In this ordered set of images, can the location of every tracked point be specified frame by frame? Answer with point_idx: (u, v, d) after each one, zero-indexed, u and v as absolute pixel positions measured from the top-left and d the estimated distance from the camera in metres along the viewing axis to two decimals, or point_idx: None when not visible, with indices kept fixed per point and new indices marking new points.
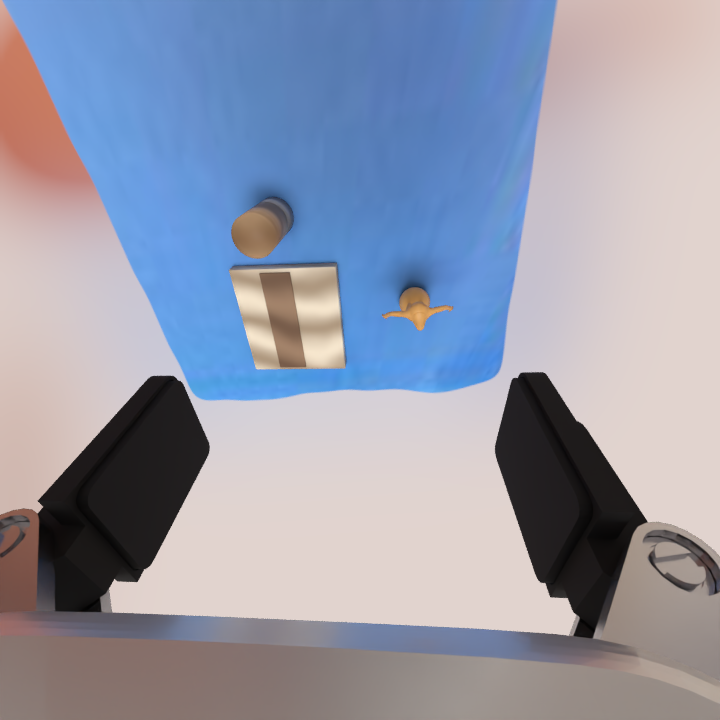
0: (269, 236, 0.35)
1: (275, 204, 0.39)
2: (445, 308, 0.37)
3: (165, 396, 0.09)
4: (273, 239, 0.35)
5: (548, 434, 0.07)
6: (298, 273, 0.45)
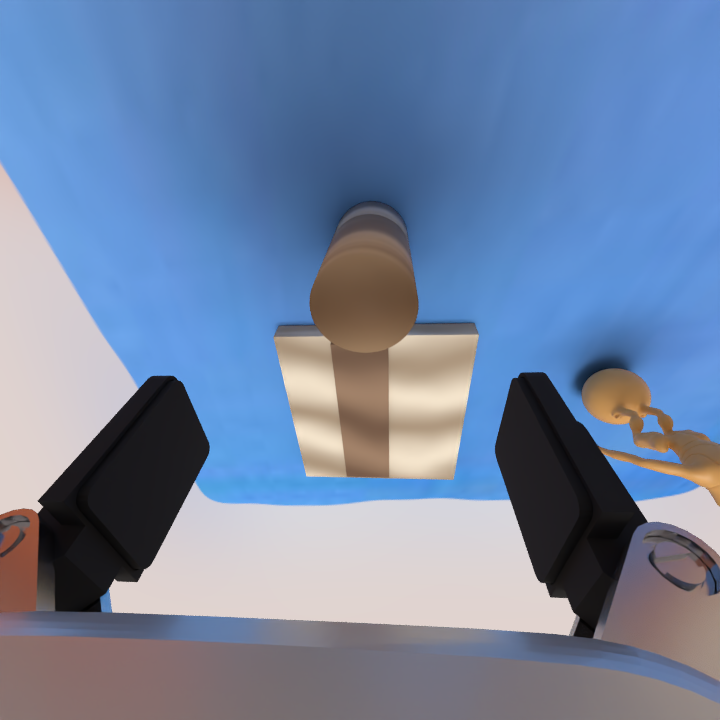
0: (405, 307, 0.14)
1: (389, 219, 0.18)
2: None
3: (165, 396, 0.09)
4: (413, 314, 0.14)
5: (548, 434, 0.07)
6: (404, 344, 0.24)
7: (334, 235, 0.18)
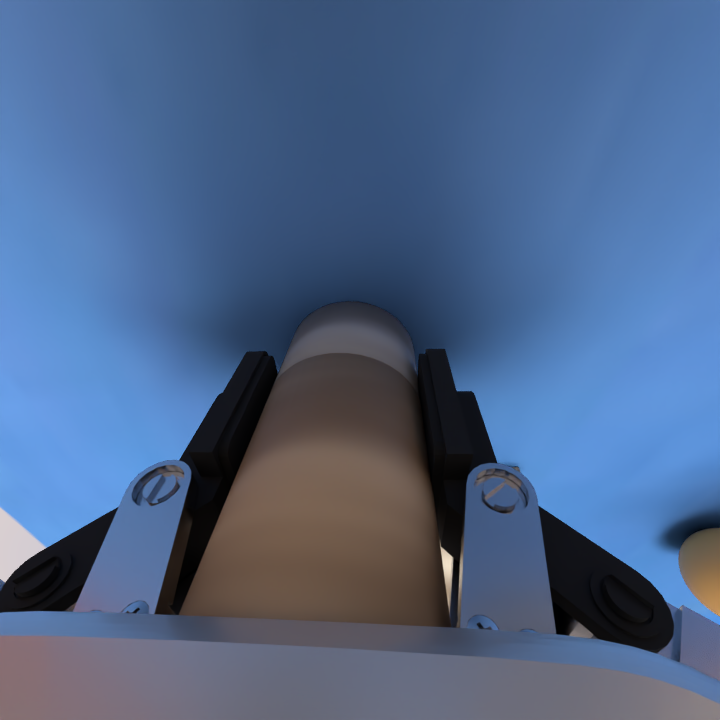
0: None
1: (381, 361, 0.09)
2: None
3: (264, 369, 0.10)
4: None
5: (430, 398, 0.08)
6: None
7: (271, 393, 0.09)
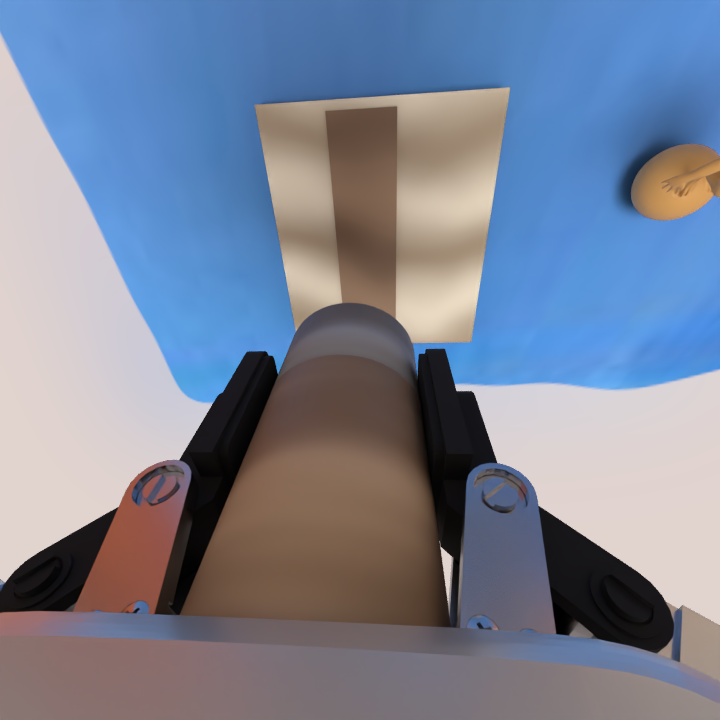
0: None
1: (381, 363, 0.09)
2: None
3: (264, 369, 0.10)
4: None
5: (430, 398, 0.08)
6: (416, 110, 0.19)
7: (271, 394, 0.09)
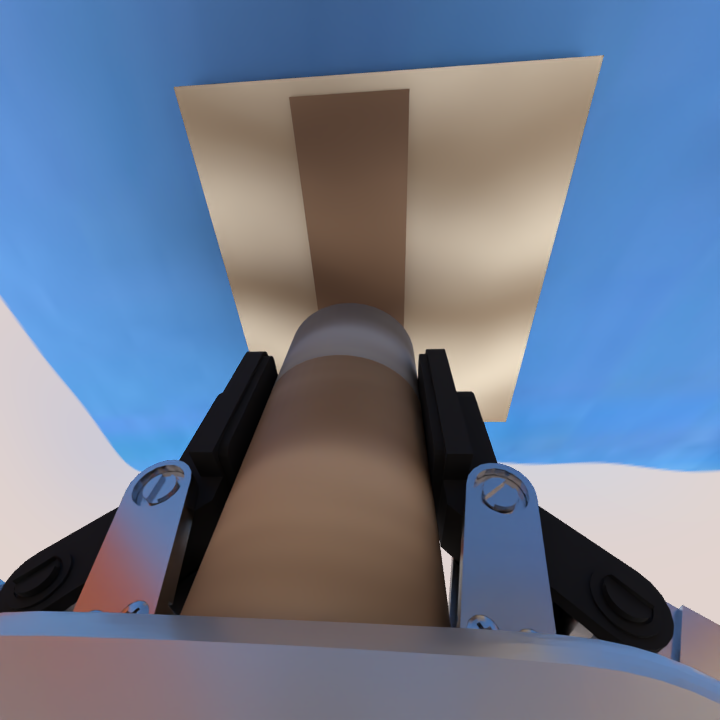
0: None
1: (381, 363, 0.09)
2: None
3: (264, 369, 0.10)
4: None
5: (430, 398, 0.08)
6: (441, 95, 0.12)
7: (271, 395, 0.09)
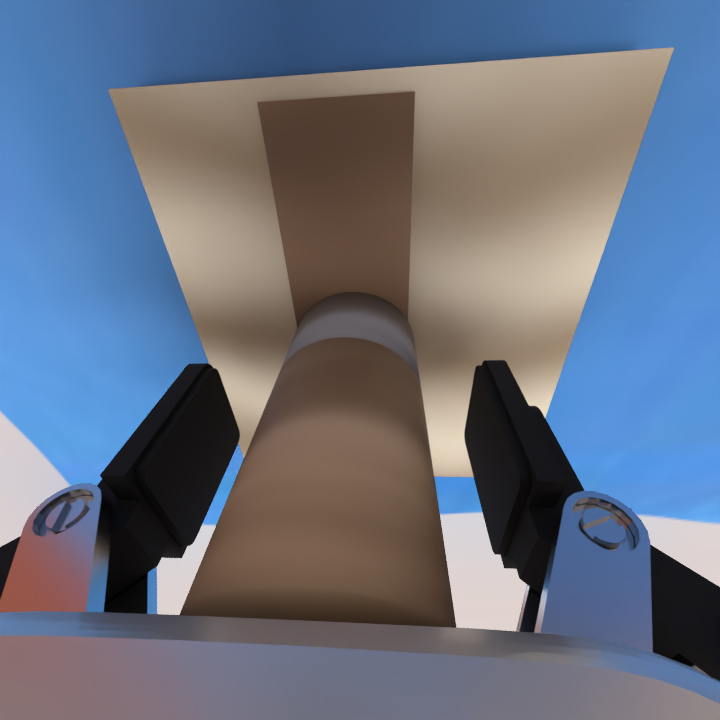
0: None
1: (383, 345, 0.09)
2: None
3: (204, 382, 0.09)
4: None
5: (501, 415, 0.08)
6: (456, 100, 0.09)
7: (279, 375, 0.09)
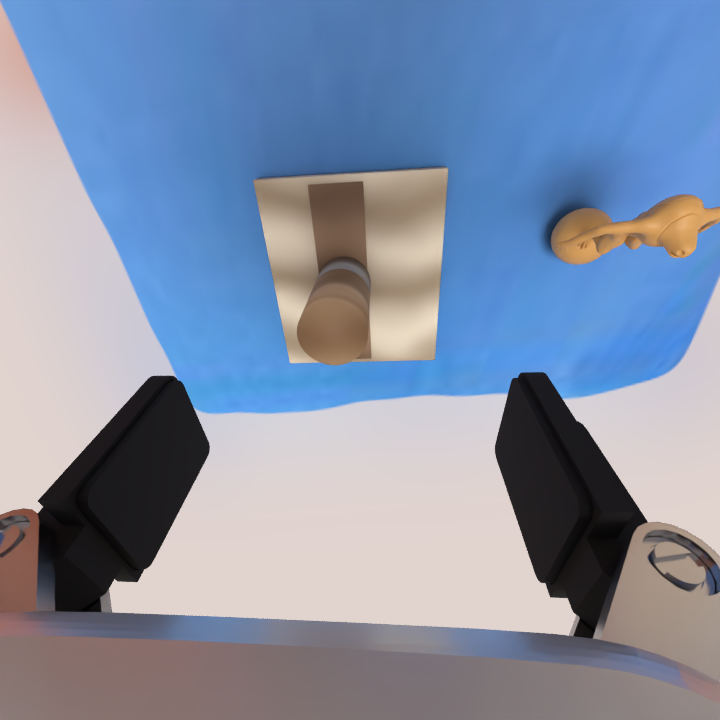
0: (359, 334, 0.21)
1: (353, 271, 0.25)
2: None
3: (165, 396, 0.09)
4: (365, 338, 0.21)
5: (548, 434, 0.07)
6: (378, 184, 0.25)
7: (315, 283, 0.25)
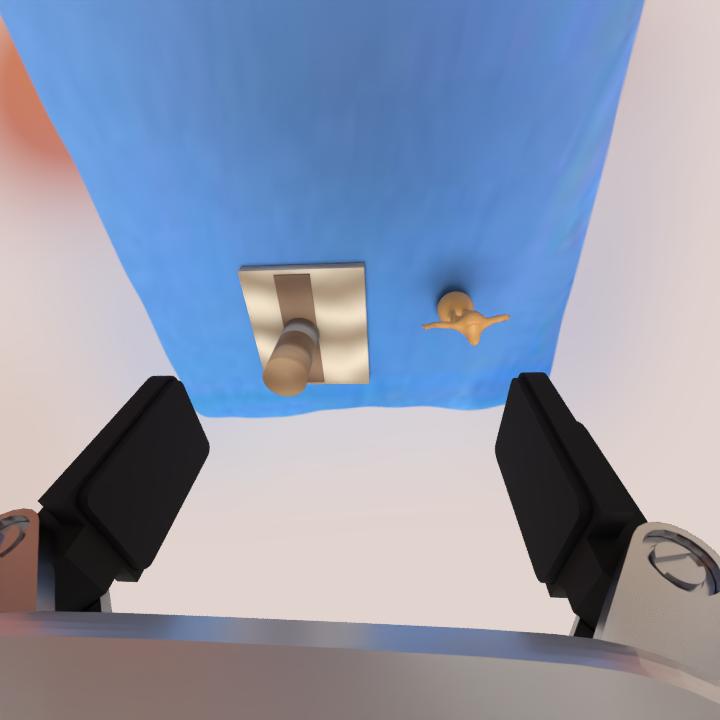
0: (301, 379, 0.35)
1: (303, 332, 0.38)
2: (504, 318, 0.31)
3: (165, 396, 0.09)
4: (304, 381, 0.35)
5: (548, 434, 0.07)
6: (319, 275, 0.38)
7: (278, 340, 0.38)
